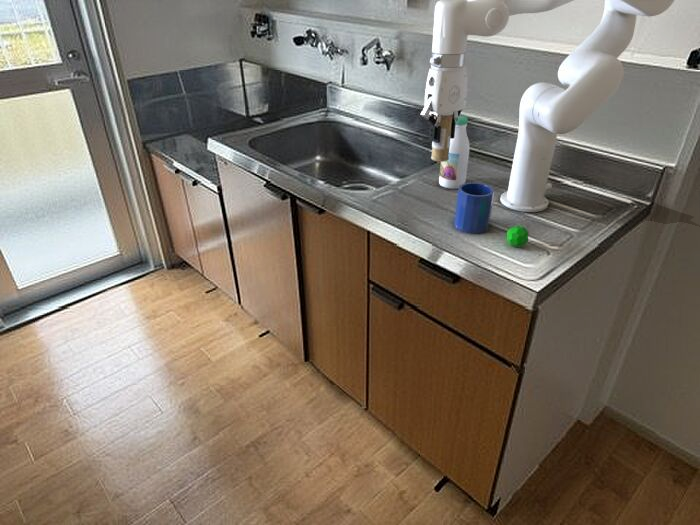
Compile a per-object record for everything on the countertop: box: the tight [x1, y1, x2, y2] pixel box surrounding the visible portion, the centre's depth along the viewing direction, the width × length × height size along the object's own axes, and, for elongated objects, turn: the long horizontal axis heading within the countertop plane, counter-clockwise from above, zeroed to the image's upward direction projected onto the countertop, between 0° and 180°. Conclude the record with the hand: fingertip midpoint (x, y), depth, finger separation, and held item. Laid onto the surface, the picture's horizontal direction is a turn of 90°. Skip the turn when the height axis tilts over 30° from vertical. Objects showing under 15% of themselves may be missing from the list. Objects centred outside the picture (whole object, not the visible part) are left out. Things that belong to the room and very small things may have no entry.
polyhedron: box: [506, 225, 529, 248], centre depth 115 cm, size 5×5×5 cm
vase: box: [453, 181, 495, 235], centre depth 122 cm, size 8×8×10 cm
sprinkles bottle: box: [430, 112, 453, 163], centre depth 121 cm, size 5×5×13 cm
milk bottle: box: [438, 114, 470, 190], centre depth 142 cm, size 8×8×20 cm
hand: (441, 138), depth 121 cm, fingers closed on sprinkles bottle, 4 cm apart
